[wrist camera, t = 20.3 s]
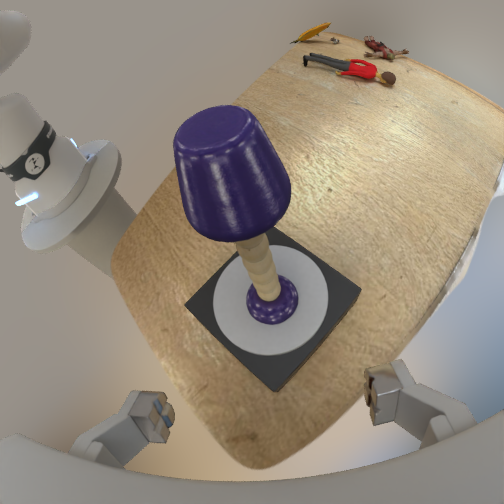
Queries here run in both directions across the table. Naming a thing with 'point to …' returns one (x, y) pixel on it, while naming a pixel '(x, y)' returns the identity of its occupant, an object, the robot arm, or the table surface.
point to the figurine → (381, 49)
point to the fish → (312, 32)
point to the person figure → (352, 67)
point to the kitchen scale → (279, 335)
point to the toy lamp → (237, 197)
